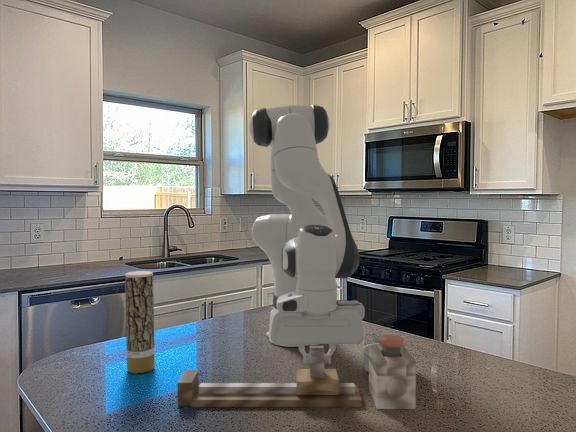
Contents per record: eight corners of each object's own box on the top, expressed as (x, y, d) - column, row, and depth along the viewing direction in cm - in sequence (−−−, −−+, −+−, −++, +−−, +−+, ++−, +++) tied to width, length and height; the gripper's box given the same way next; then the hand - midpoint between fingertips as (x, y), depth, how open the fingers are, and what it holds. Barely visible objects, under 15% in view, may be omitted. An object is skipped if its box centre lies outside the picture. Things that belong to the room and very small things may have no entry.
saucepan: (393, 352, 127) (393, 333, 127) (414, 381, 107) (414, 358, 107) (353, 352, 127) (353, 333, 127) (366, 381, 107) (366, 358, 107)
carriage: (296, 397, 94) (296, 353, 94) (296, 383, 101) (296, 342, 101) (339, 397, 94) (339, 353, 94) (335, 383, 101) (335, 342, 101)
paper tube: (146, 375, 111) (144, 275, 110) (121, 373, 112) (119, 275, 111) (159, 365, 118) (157, 271, 117) (136, 363, 119) (134, 270, 118)
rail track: (175, 409, 93) (174, 362, 92) (187, 388, 103) (186, 346, 103) (416, 409, 92) (416, 362, 92) (403, 388, 103) (403, 345, 102)
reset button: (381, 361, 95) (381, 342, 95) (377, 352, 100) (377, 334, 100) (406, 361, 95) (406, 342, 95) (400, 352, 100) (400, 334, 100)
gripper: (362, 296, 100) (362, 357, 101) (271, 297, 100) (271, 357, 101) (367, 303, 94) (366, 368, 94) (269, 303, 94) (270, 368, 95)
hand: (316, 362), depth 98 cm, fingers closed on carriage, 3 cm apart
